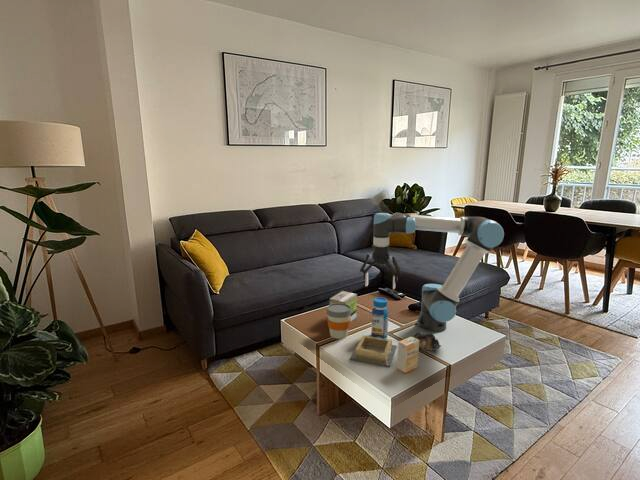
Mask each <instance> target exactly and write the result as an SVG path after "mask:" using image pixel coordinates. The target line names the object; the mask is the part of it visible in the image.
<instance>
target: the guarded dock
mask: <svg viewBox="0 0 640 480" xmlns="http://www.w3.org/2000/svg"><path fill="white" fill-rule="evenodd" d="M397 349H398V345H395V344H393V340H392V339H387V338H386V339H382V338H376V337H372V336H369V335H363V336H362V337H361V339H359V340H358V342H357V344H356V346H355V348H354V350H353V352H352V353H351V354H350V357H349V360H351V361H354V362H361V363H364V364H365V363H366V364H370V365H374V366H381V367H387V368H391V367H392V366H391V365H392V362H393V360H394V357H395V353H396V350H397Z"/></svg>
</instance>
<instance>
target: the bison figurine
mask: <svg viewBox="0 0 640 480" xmlns="http://www.w3.org/2000/svg"><path fill="white" fill-rule="evenodd" d="M411 337H414V338H416V339H418V340H419V348H422V349H424V350H427V351H434V350H439V349H441V347H442V345H440V342H439V339H437V338H436V336H435V334H433V333H431V332H430V333H422V332H421V331H417V332H414V333H413V334H412V336H411Z"/></svg>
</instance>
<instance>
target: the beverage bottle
mask: <svg viewBox="0 0 640 480" xmlns="http://www.w3.org/2000/svg"><path fill="white" fill-rule="evenodd" d="M372 304H373V308H372V309H371V319H370V320H371V333H370V334H371V336H370V337H376V338H382V339H387V338H388V336H389V335H388V331H389V330H388V329H389V326H388V325H389V316H388V315H389V309H387V307H388V299H387V298H385V297H375V298H374V299H373V303H372Z"/></svg>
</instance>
